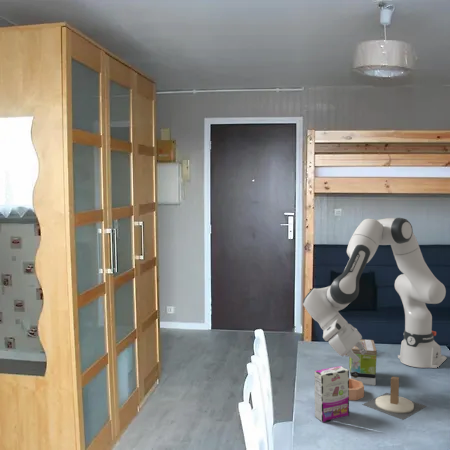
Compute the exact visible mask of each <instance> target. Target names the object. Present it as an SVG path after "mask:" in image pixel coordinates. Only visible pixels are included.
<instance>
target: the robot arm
mask: <svg viewBox="0 0 450 450" xmlns="http://www.w3.org/2000/svg"><path fill="white" fill-rule="evenodd" d="M387 245H388V246H389V245H390V247H391V250H392V253H393V257H394V260H395V262H396V265H397V268H398V269H399V271H400V272H401V274H399V275H398V276H397V277H396V279H395V280H394V289H395V291H396V292H397V294H398V295H399V297H400V300H401V302H402V305H403V311H404V330H403V340H402V341H401V343H400V354H397V359H399V360H400V363H402V364H404V365H407V366H410V367H412V368H422V369H423V368H425V369H426V368H431V369H432V368H433V369H438V368H440V367H441V366H442V365H443V364H444V363H445V362H446V361H447V360H448V359H447V358H448V357H447V356H445V355H443V354H442V347H441V346H440V344H438V343H437V342H436V341H435V338H434V337H436V336H437V331H434V330H432V329H433V316H432V313H431V311H430V310H429V309H428V307H427V304H432V305H436V304H437V305H438V304H440V303H442V302H443V300H444V299H445V297H446V293H447V290H446V287H445V285H444V284H443V282H441V281H440V280H439V279H438V278H437V277H436V276H435V275H434V274H433V272H432V271H431V269H430V268H429V266H428V265H427V263H426V261H425V258H424V257H423V253H422V251H421V248H420V245H419V242H418V240H417V237H416V235H415V233H414V230H413V226H412V224H411V223H410V221H409V219H407V218H403V217H386V218H381V219H374V218H365V219H363V220H362V221H361V222H360V223H359V224H358V226H357V228H356V229H355V230H354V232H353V233H352V236H351V237H350V239H349V241H348V245H347V248H346V254H347V256H348V257H349V258H348V259H349V260H348V261H347V264H346V266H345V268H344V270H343V272H342V273H341V274H339V275H338V276H337V277H336V278H334V279H333V281H332V282H331V284H330V285H328V286H326V287H321V288H320V287H319V288H314V287H313V288H312V289H311V290H309V292H308V293H307V294H306V295H305V297H304V298H303V300H302V305H303V307H304V309H305V310H306V312H307V313H308V314H309V316H310V317H311V318H312V319H313V320H314V321H315V322H317V323H318V325H319V327H320V328H321V330H322V332H323V334H322V338H323V340H324V341H325V342H328V344H329V345H330V346H331V348H332V349H333V350H334V351H335V352H336V353H337V354H338V355H340V356H341V357H344V355H345V354H347V355H348V356H347V357H348V358H349V357H350V358H352V359H353V360H354V361H355V362H358V361H359V360H360V357H359V356H358V355H356V354H354V353H353V351H352V348H353V347H354V346H356V347H358V349H359V350H360V353H361V354H362V355H364V354H365V353H366V352H367V351H366V349H365V348H364V347H363V345H362V343H361V342H360V340H361V339H363V336H362V334H361V333H360V332H359V331H358V329H357V328H356V327H354V326H353V325H352V324H351V323H348V321H347V320H346V319H345V318H344V317H343V316H342V315H341V313H340V311H341V310H344V309H345V308H346V307H348V305H349V304H351V303H352V302H353V301H355V300H356V299H357V298H358V296H359V293H360V279H361V277H362V274H363V272H364V271H365V270H364V269H365V267H366V265H367V264H368V263H370V261H371V260H372V259H373V257H374V256H375V254H376V252H377V250H378V248H379V246H387ZM355 328H356V329H357V330H356V329H355ZM446 359H447V360H446ZM445 360H446V361H445ZM444 361H445V362H444ZM443 362H444V363H443ZM442 363H443V364H442ZM441 364H442V365H441ZM440 365H441V366H440ZM439 366H440V367H439ZM437 367H438V368H437Z"/></svg>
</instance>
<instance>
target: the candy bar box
mask: <svg viewBox="0 0 450 450" xmlns="http://www.w3.org/2000/svg"><path fill="white" fill-rule="evenodd" d="M349 378H350V373H349V368H347V367H346V368H345V367H344V366H342V365H340V366H334V367H328V368H323V369H319V370H318V369H317V370H314V418H316V419H317V420H319V421H320V422H321V423H326V422H331V421H332V420H333V419H338V418H342V417H349V415H350V400H349Z"/></svg>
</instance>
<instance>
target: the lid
mask: <svg viewBox="0 0 450 450" xmlns="http://www.w3.org/2000/svg"><path fill="white" fill-rule="evenodd" d="M389 394H390V395H384V396H381V395H379V396H380V397H379V396H377V397H378V398H377V397H375V398H376V400H375V404H376V406H377V407H378V408H380V409H382V410H384V411H387V412H391V413H408V412H411V411H412V410H413V409H414V404H413V402H414V401H413V402H412V400H410V399H409V398H406V397H403V396H400V377H398V376H391V378H390V393H389Z"/></svg>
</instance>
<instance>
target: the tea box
mask: <svg viewBox="0 0 450 450" xmlns="http://www.w3.org/2000/svg"><path fill="white" fill-rule="evenodd" d="M360 342H361V343H362V345H363V347H364V348H365V349H366V351H367V352H366V353H365V354H364V355H362V354H361V353H360V350H359V349H358V347H356V346H354V347H353V348H352V351H353V353H354V354H356V355H358V356H359V357H360V360H359V361H358V362H355V361H354V360H353V359H352V358H350V357H349V356H348V358H349V361H348V363H349V364H348V370H349V378H351V379H355V380H358V381H361V382H362V383H363V385H364V386H365V385H366V386H376V380H377V378H376V377H377V351H378V350H377V348H376V344H375V340H373V339H363V338H362V339H361V340H360Z"/></svg>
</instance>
